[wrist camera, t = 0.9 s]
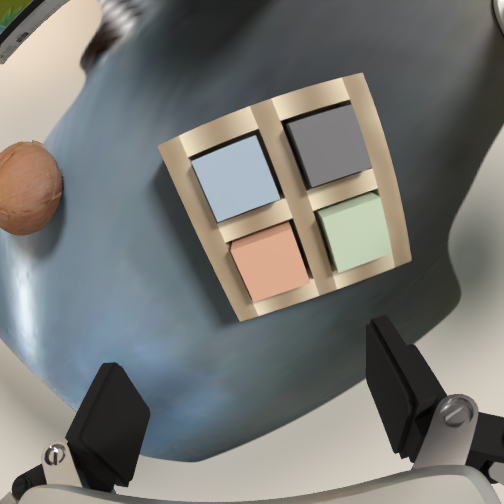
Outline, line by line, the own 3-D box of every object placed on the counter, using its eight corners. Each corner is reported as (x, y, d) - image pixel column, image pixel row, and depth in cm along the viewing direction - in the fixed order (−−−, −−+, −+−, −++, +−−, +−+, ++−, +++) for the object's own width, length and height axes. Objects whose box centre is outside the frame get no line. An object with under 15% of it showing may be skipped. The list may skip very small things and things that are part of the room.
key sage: (367, 189, 25) (380, 197, 22) (379, 240, 26) (392, 252, 24) (314, 208, 25) (322, 218, 23) (330, 258, 27) (338, 273, 24)
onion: (42, 191, 30) (-23, 223, 23) (43, 121, 25) (-35, 147, 17) (82, 228, 29) (7, 271, 21) (84, 148, 23) (-12, 184, 15)
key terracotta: (287, 217, 26) (291, 228, 23) (305, 267, 27) (310, 283, 25) (233, 237, 26) (230, 250, 24) (253, 285, 28) (253, 302, 25)
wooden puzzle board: (345, 81, 23) (362, 72, 19) (392, 242, 29) (411, 260, 25) (172, 143, 26) (157, 146, 22) (241, 296, 32) (239, 321, 28)
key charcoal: (341, 107, 22) (352, 104, 19) (359, 162, 24) (372, 167, 21) (284, 124, 23) (288, 123, 20) (305, 180, 24) (312, 187, 22)
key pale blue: (255, 135, 23) (255, 135, 20) (277, 190, 25) (280, 198, 22) (198, 157, 24) (191, 161, 21) (221, 211, 26) (217, 222, 23)
